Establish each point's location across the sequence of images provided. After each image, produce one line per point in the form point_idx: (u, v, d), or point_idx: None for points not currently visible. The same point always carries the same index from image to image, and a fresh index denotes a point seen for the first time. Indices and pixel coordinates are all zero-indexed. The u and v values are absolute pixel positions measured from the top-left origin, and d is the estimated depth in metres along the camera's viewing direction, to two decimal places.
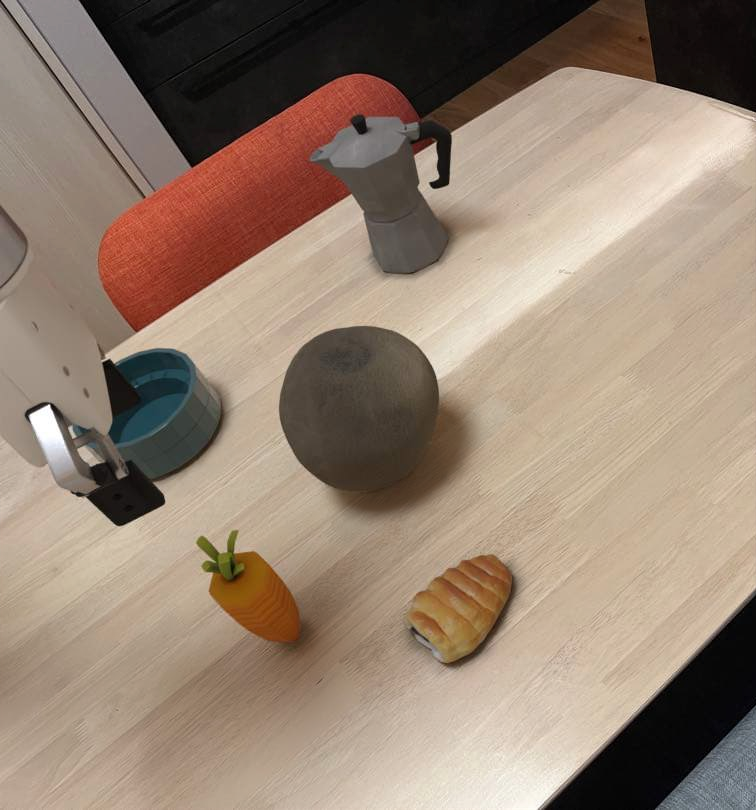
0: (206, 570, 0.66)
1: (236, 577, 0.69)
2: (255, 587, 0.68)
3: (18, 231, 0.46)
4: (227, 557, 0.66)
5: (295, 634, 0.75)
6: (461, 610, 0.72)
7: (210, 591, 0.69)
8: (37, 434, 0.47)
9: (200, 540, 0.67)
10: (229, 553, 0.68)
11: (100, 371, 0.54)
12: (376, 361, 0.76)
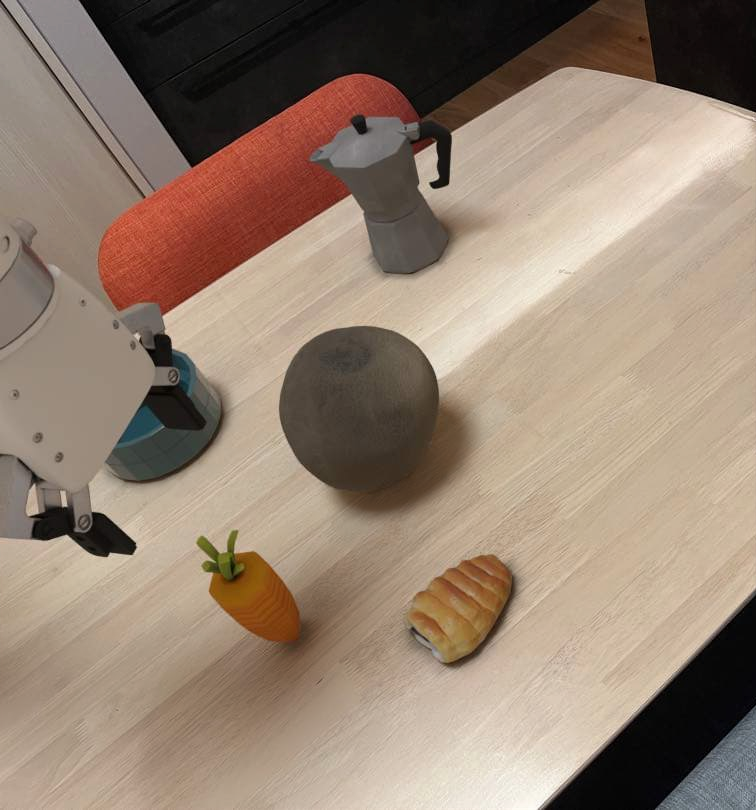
0: (206, 570, 0.66)
1: (236, 577, 0.69)
2: (255, 587, 0.68)
3: (32, 304, 0.46)
4: (227, 557, 0.66)
5: (295, 634, 0.75)
6: (461, 610, 0.72)
7: (210, 591, 0.69)
8: None
9: (200, 540, 0.67)
10: (229, 553, 0.68)
11: (120, 420, 0.54)
12: (376, 361, 0.76)
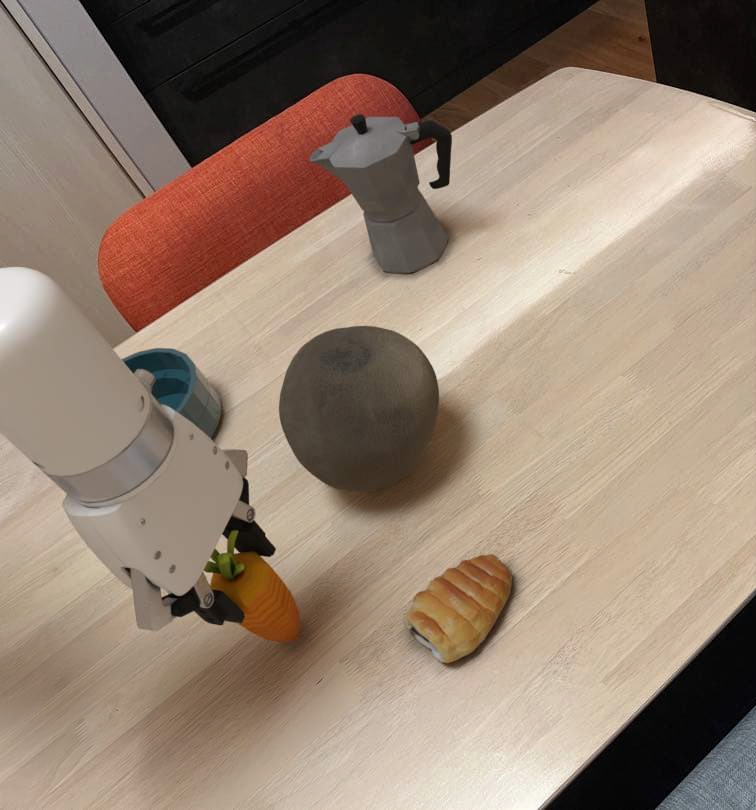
0: (206, 570, 0.66)
1: (236, 577, 0.69)
2: (255, 587, 0.68)
3: (160, 449, 0.55)
4: (227, 557, 0.66)
5: (295, 634, 0.75)
6: (461, 610, 0.72)
7: None
8: (133, 588, 0.60)
9: None
10: (229, 553, 0.68)
11: (217, 530, 0.63)
12: (376, 361, 0.76)
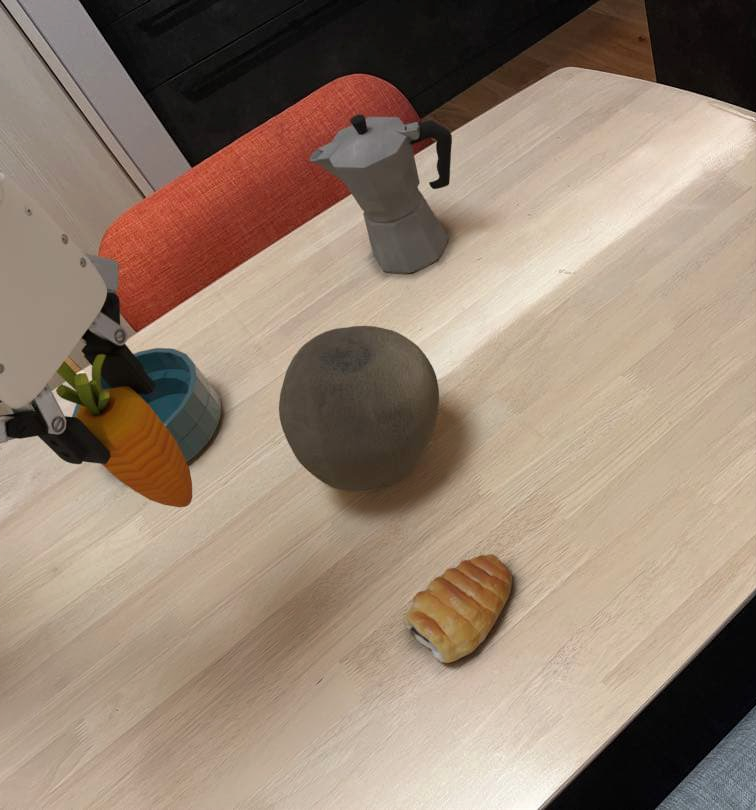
0: (61, 395, 0.55)
1: (103, 412, 0.58)
2: (124, 423, 0.57)
3: None
4: (85, 378, 0.55)
5: (184, 496, 0.64)
6: (461, 610, 0.72)
7: None
8: None
9: None
10: (93, 380, 0.57)
11: (67, 338, 0.53)
12: (376, 361, 0.76)
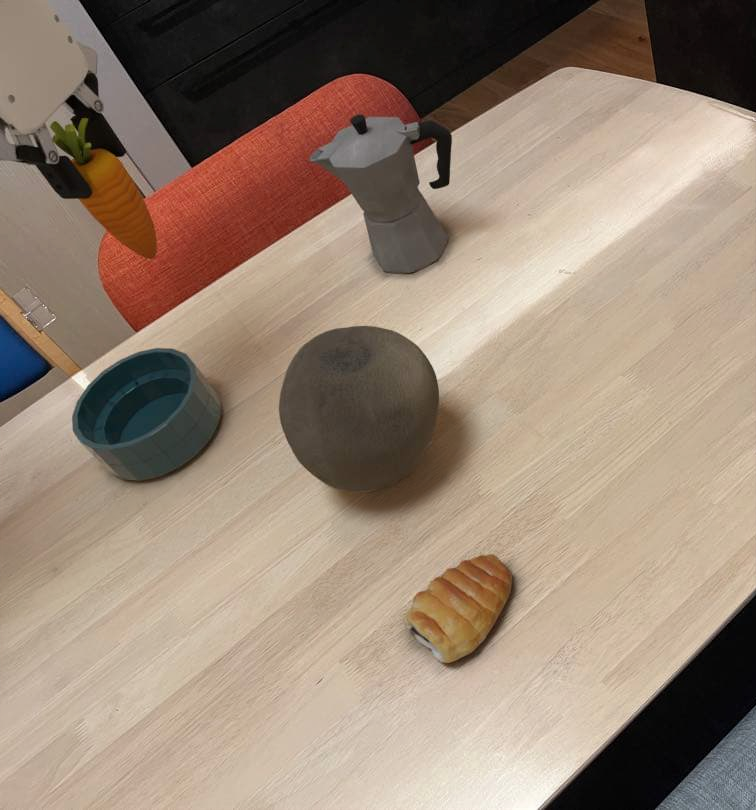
0: (55, 142, 0.76)
1: (87, 162, 0.78)
2: (102, 169, 0.78)
3: None
4: (73, 127, 0.75)
5: (150, 245, 0.85)
6: (461, 610, 0.72)
7: None
8: None
9: (53, 123, 0.77)
10: (79, 136, 0.78)
11: (59, 92, 0.73)
12: (376, 361, 0.76)
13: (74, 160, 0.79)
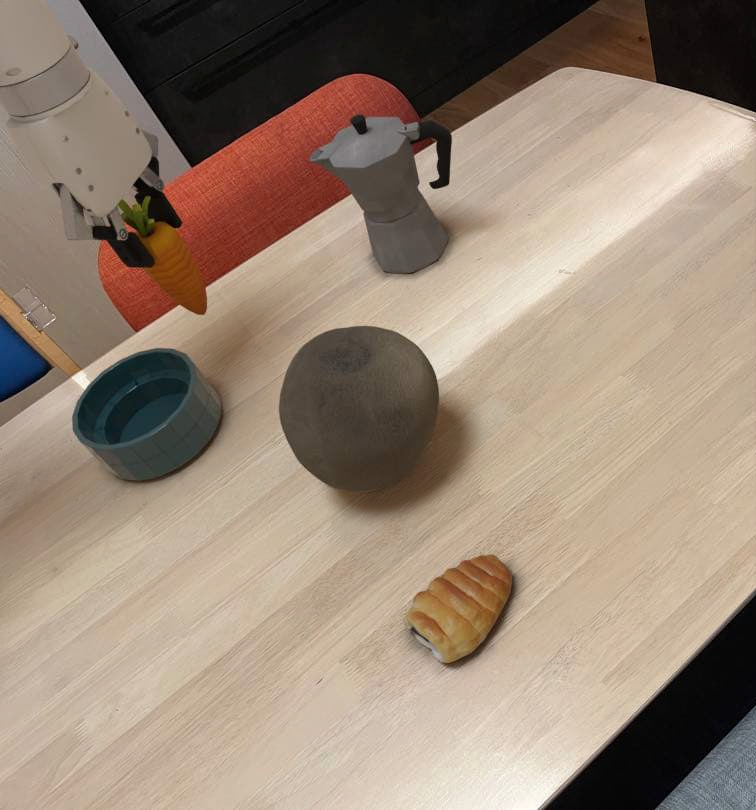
0: (123, 219, 0.86)
1: (149, 235, 0.89)
2: (163, 241, 0.88)
3: (77, 80, 0.75)
4: (139, 207, 0.85)
5: (202, 304, 0.95)
6: (461, 610, 0.72)
7: None
8: (61, 204, 0.80)
9: (120, 201, 0.87)
10: (143, 213, 0.88)
11: (128, 177, 0.83)
12: (376, 361, 0.76)
13: (138, 233, 0.89)
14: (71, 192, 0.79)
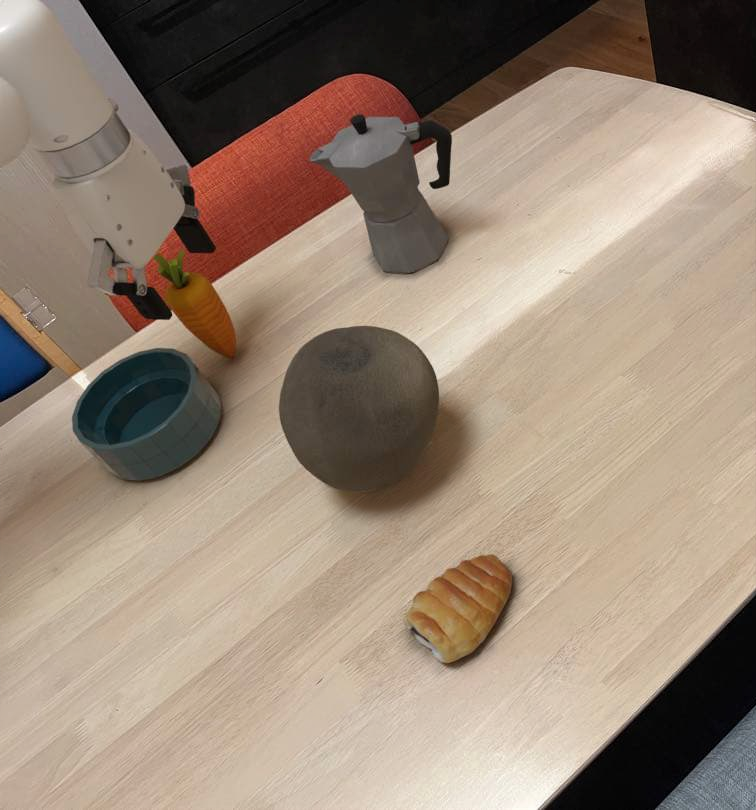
0: (160, 273, 0.91)
1: (184, 286, 0.93)
2: (197, 292, 0.93)
3: (119, 143, 0.80)
4: (175, 261, 0.90)
5: (232, 348, 1.00)
6: (461, 610, 0.72)
7: (165, 297, 0.94)
8: (93, 253, 0.83)
9: (156, 255, 0.92)
10: (178, 265, 0.93)
11: (164, 230, 0.88)
12: (376, 361, 0.76)
13: (173, 284, 0.94)
14: (111, 246, 0.84)
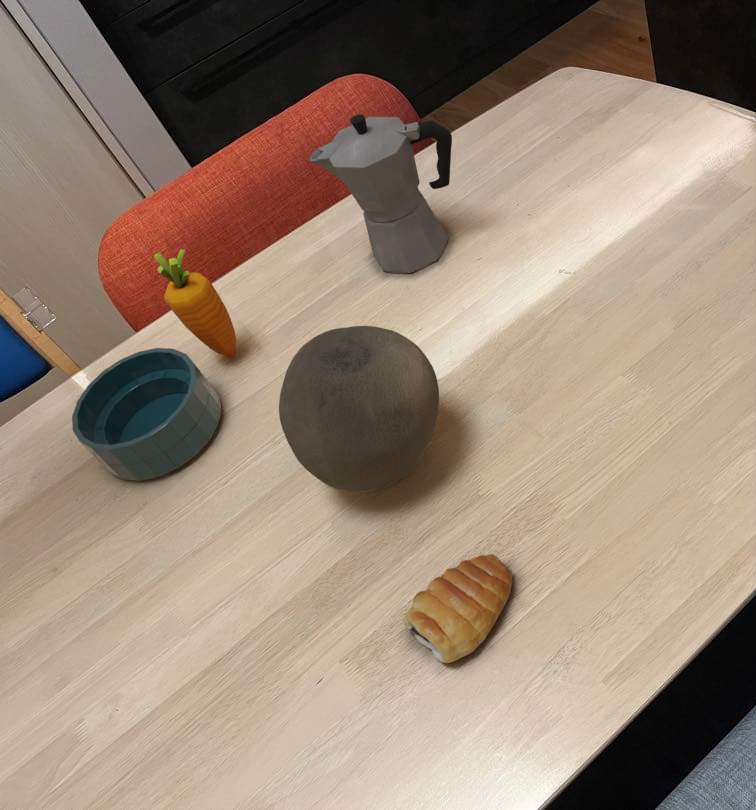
0: (160, 272, 0.91)
1: (184, 285, 0.94)
2: (197, 291, 0.93)
3: None
4: (175, 261, 0.90)
5: (232, 348, 1.00)
6: (462, 610, 0.72)
7: (165, 296, 0.94)
8: None
9: (157, 255, 0.92)
10: (178, 265, 0.93)
11: None
12: (376, 361, 0.76)
13: (173, 283, 0.94)
14: None
